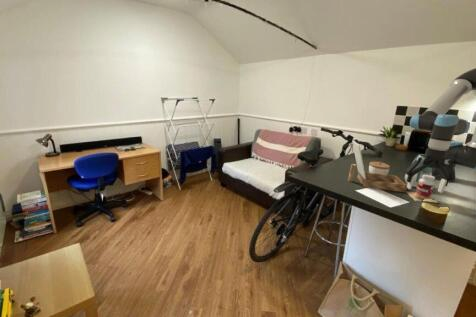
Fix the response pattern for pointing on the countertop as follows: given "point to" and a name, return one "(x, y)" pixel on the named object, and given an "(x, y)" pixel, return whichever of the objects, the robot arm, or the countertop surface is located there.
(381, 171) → the lidded jar
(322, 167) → the countertop surface
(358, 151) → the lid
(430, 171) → the vase
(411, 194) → the cork mat
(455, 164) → the robot arm
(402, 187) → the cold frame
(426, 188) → the pill bottle
